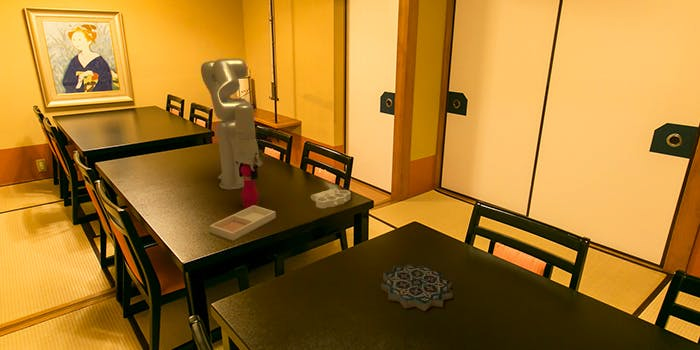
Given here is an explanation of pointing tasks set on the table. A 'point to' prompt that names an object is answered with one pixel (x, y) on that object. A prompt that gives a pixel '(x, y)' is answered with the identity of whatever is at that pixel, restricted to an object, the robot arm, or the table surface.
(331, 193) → the knuckle duster
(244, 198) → the pepper mill
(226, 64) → the robot arm
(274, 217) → the cell tray
